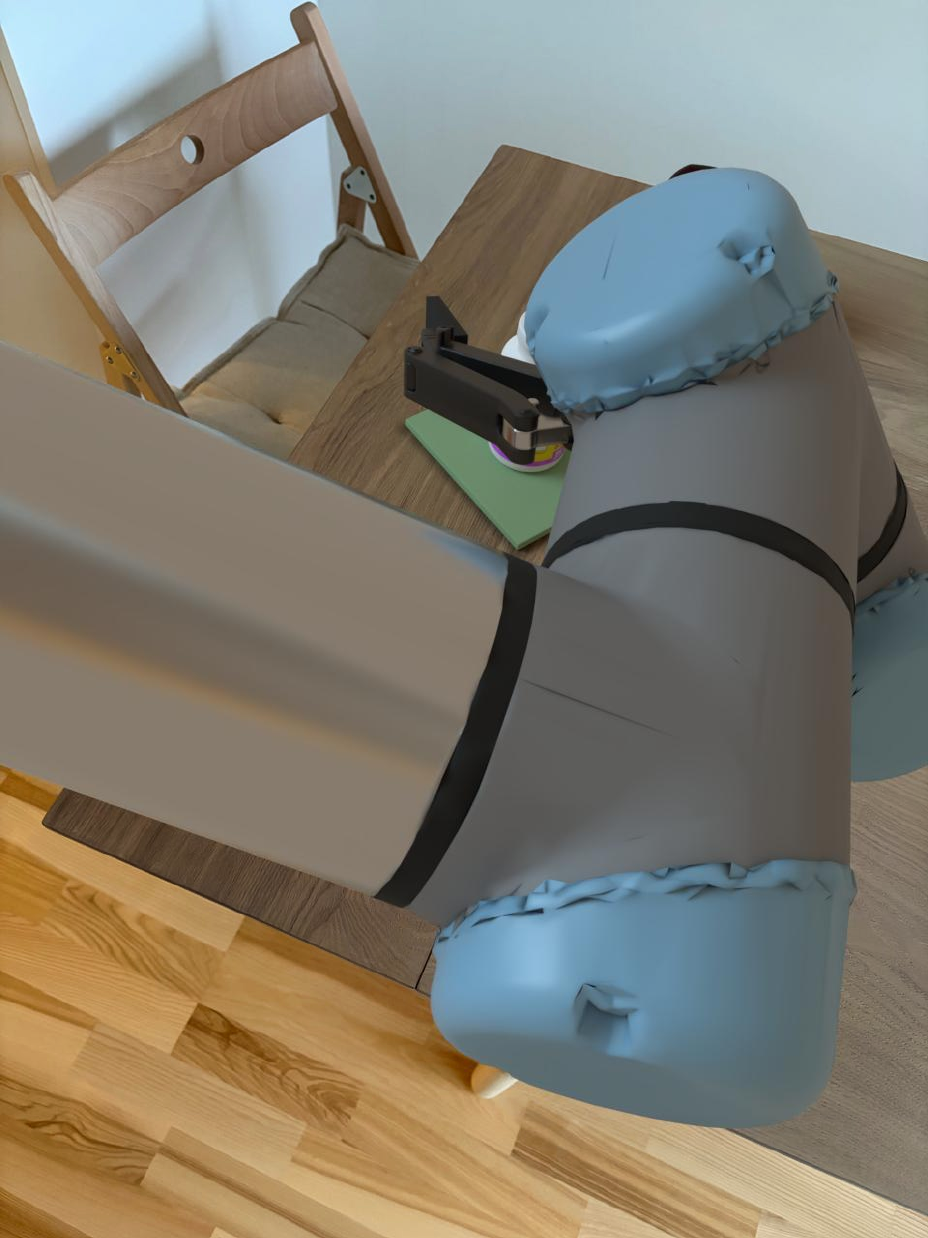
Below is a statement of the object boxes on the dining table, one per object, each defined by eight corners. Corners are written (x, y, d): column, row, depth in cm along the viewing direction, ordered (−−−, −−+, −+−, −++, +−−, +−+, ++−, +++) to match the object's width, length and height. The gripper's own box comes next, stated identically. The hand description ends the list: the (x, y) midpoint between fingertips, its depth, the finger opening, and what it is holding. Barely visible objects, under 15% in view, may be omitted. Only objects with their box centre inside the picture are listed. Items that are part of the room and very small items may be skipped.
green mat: (404, 425, 81) (405, 418, 81) (530, 367, 87) (532, 360, 86) (517, 550, 75) (518, 544, 74) (645, 480, 80) (648, 474, 80)
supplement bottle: (557, 483, 78) (586, 365, 67) (479, 465, 79) (497, 345, 68) (570, 427, 82) (601, 307, 71) (496, 410, 82) (515, 287, 71)
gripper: (415, 582, 40) (338, 385, 56) (917, 526, 46) (715, 362, 62) (418, 417, 35) (333, 255, 52) (974, 378, 41) (740, 244, 58)
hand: (541, 313), depth 57 cm, fingers open, 13 cm apart
